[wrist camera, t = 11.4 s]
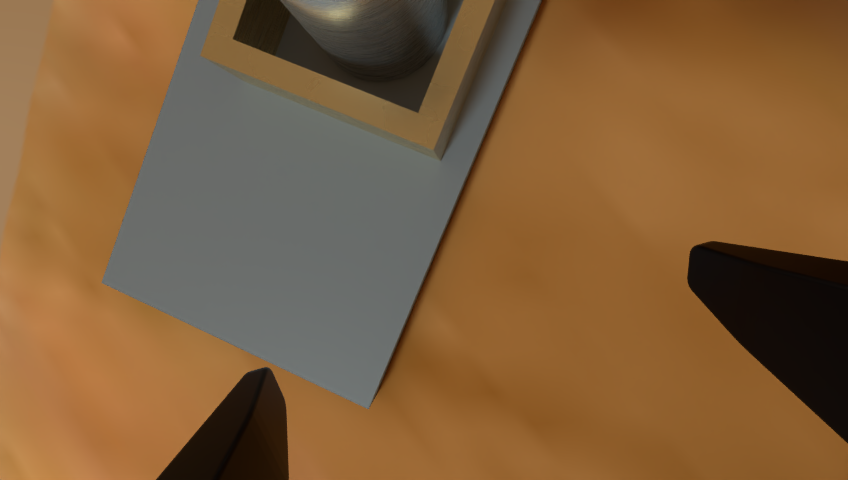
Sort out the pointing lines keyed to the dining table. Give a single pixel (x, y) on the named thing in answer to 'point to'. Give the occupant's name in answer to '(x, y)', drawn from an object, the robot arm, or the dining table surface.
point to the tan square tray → (423, 132)
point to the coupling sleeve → (374, 33)
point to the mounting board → (299, 208)
